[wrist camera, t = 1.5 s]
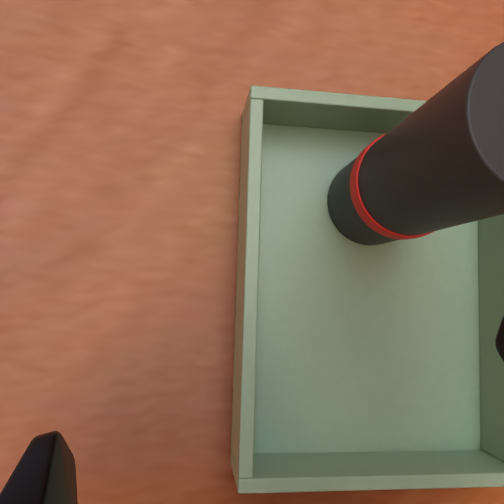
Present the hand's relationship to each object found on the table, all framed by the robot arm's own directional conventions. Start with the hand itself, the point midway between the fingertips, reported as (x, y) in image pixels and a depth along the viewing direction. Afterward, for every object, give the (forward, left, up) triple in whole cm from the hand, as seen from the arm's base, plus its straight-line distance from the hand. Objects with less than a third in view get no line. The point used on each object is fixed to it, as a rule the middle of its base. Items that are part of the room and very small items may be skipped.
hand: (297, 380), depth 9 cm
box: (-5, -4, -14) cm, 16 cm away
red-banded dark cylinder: (-4, -8, -13) cm, 16 cm away
